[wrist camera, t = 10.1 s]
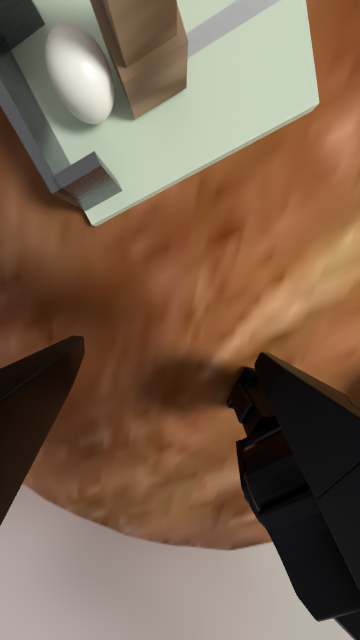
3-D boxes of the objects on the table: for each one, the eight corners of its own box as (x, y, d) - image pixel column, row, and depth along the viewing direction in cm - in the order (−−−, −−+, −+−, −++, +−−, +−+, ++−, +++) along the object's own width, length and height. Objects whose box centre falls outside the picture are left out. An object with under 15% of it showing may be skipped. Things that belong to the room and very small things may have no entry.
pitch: (269, -182, 10) (276, -217, 9) (312, 111, 14) (319, 102, 14) (-8, 33, 13) (-20, 19, 12) (95, 226, 17) (91, 225, 16)
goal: (37, 8, 12) (-39, -128, 8) (122, 190, 16) (101, 165, 11) (-6, 42, 13) (-101, -69, 8) (85, 211, 16) (51, 193, 12)
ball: (83, -2, 9) (21, 47, 9) (128, 112, 12) (80, 142, 13) (84, 4, 11) (33, 44, 11) (123, 101, 14) (82, 127, 15)
